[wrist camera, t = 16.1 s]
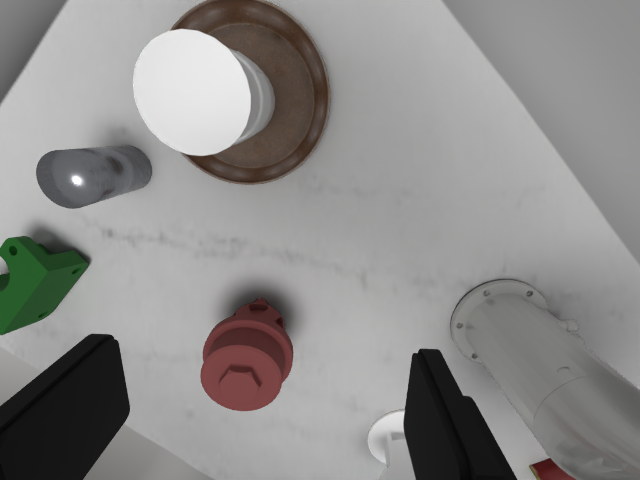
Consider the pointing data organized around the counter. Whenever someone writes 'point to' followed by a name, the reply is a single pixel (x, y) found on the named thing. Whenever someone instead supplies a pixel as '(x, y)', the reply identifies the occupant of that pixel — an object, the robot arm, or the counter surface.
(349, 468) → the counter surface
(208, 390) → the mechanical component
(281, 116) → the plant saucer
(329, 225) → the counter surface
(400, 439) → the panda figurine
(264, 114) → the white ribbed cylinder
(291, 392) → the counter surface
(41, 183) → the metal pillar
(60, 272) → the clamp
